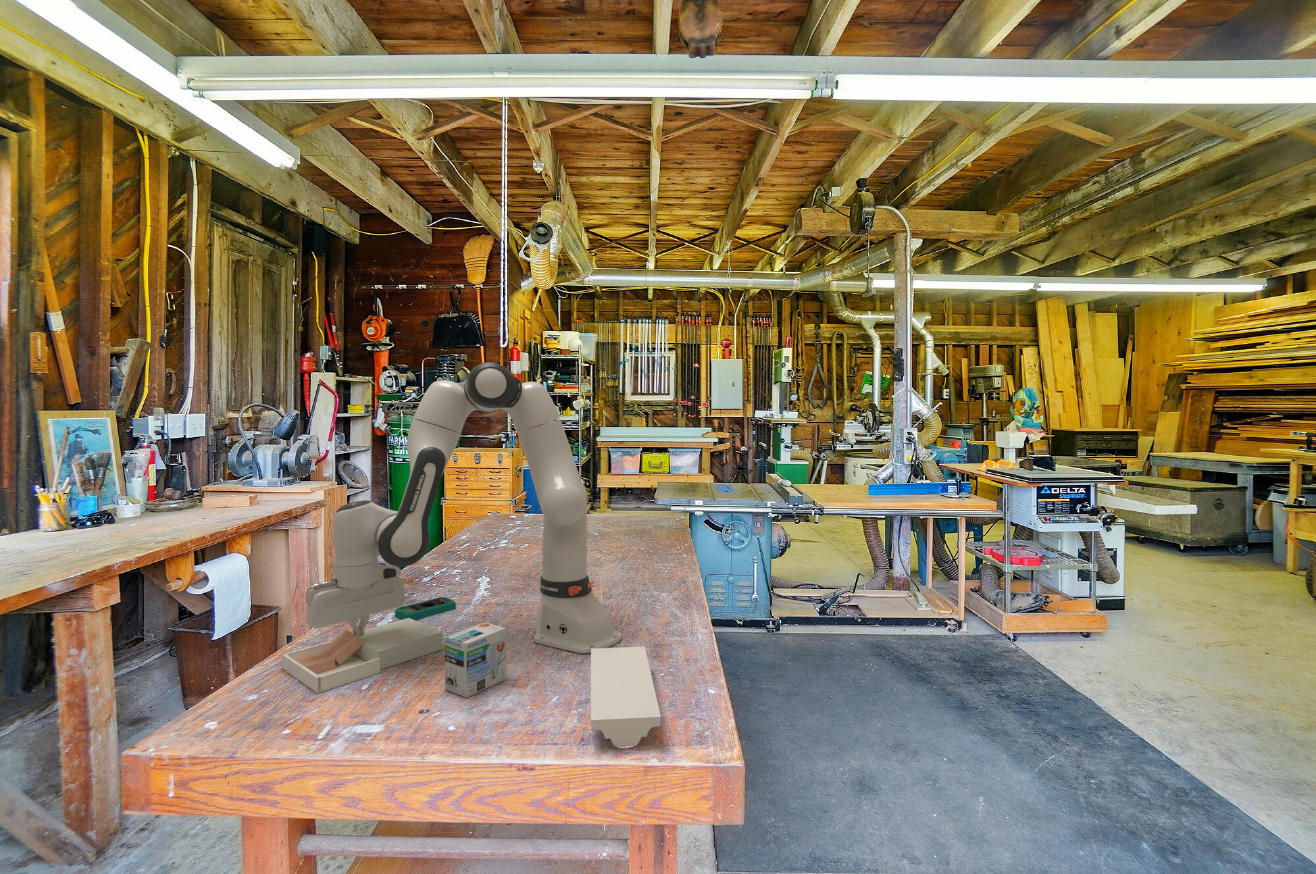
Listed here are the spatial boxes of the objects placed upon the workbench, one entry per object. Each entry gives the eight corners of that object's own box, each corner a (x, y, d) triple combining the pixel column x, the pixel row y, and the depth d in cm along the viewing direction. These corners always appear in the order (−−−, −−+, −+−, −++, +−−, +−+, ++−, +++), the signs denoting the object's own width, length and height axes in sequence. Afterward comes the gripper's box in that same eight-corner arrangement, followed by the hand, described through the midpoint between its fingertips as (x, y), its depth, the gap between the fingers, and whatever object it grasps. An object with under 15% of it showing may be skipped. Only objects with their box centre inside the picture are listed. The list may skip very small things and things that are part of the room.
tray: (380, 672, 125) (380, 658, 125) (317, 693, 116) (317, 678, 116) (341, 650, 137) (341, 638, 137) (282, 668, 127) (281, 654, 127)
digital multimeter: (458, 610, 167) (458, 599, 167) (408, 624, 156) (408, 613, 156) (443, 605, 172) (443, 594, 172) (393, 618, 160) (393, 607, 160)
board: (442, 649, 138) (442, 632, 138) (378, 670, 127) (378, 651, 127) (408, 633, 148) (408, 617, 148) (346, 652, 136) (346, 634, 136)
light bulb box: (466, 699, 114) (466, 643, 114) (443, 690, 118) (443, 636, 117) (507, 678, 123) (507, 627, 123) (485, 671, 127) (485, 620, 127)
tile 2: (363, 643, 131) (358, 636, 130) (339, 664, 127) (333, 657, 126) (351, 636, 135) (346, 629, 134) (327, 657, 131) (322, 650, 130)
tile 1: (303, 667, 121) (304, 678, 121) (335, 658, 126) (335, 668, 126) (292, 659, 125) (292, 670, 125) (323, 651, 130) (323, 661, 130)
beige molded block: (590, 751, 97) (590, 720, 97) (590, 672, 127) (591, 648, 127) (660, 748, 98) (660, 716, 98) (644, 670, 128) (644, 646, 128)
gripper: (311, 588, 122) (314, 654, 123) (407, 567, 138) (409, 626, 139) (299, 583, 126) (302, 647, 127) (393, 563, 142) (395, 620, 143)
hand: (358, 636), depth 133 cm, fingers closed
